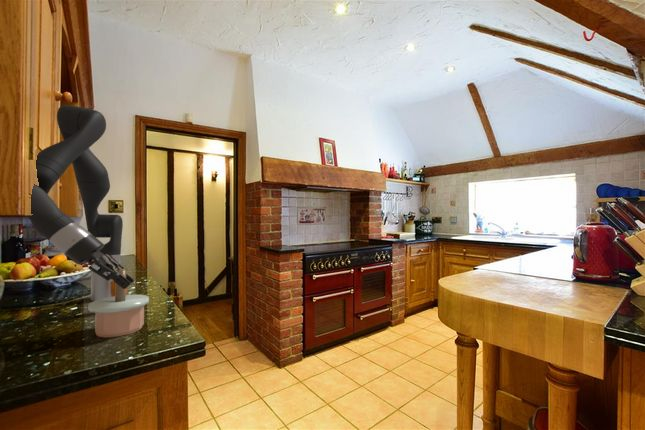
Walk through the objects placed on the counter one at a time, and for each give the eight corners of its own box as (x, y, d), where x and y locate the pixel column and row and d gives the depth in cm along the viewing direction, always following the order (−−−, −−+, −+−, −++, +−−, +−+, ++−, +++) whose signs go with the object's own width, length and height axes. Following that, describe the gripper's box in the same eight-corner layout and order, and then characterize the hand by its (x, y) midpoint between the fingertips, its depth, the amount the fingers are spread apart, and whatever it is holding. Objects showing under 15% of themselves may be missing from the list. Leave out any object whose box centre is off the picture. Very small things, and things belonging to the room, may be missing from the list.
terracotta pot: (93, 329, 82) (94, 304, 82) (139, 320, 89) (139, 297, 89) (96, 341, 73) (97, 313, 73) (146, 330, 81) (147, 305, 81)
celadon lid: (86, 304, 82) (87, 269, 82) (143, 296, 91) (144, 264, 91) (89, 316, 71) (90, 276, 71) (153, 305, 81) (154, 270, 81)
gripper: (80, 234, 72) (136, 279, 77) (98, 232, 85) (145, 271, 90) (52, 256, 70) (111, 301, 75) (75, 250, 83) (124, 289, 88)
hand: (129, 284), depth 82 cm, fingers open, 3 cm apart
